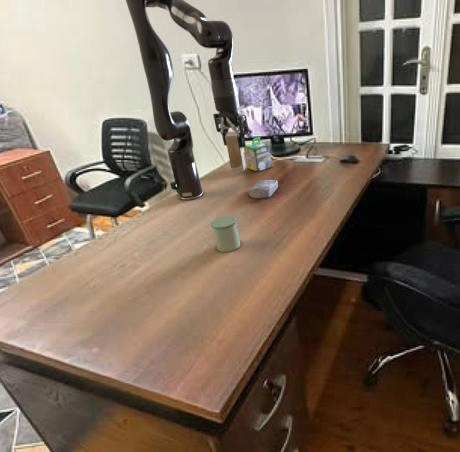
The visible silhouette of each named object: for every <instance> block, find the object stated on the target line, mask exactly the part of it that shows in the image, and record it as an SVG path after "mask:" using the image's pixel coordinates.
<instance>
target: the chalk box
mask: <svg viewBox="0 0 460 452" xmlns="http://www.w3.org/2000/svg"><path fill="white" fill-rule="evenodd" d="M243 154H244V159H245V165H246V168H247V169H248V170H251V171H254V172H258V173H259V172H261V171H264V170H267V169H270V168H273V163H272V162H273V161H272V155H271V148H270V143H268V142H262V141H261V136H259V137H255V138H252V142H251V143H248V144H246V145H245V147H244V148H243Z"/></svg>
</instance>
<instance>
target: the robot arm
mask: <svg viewBox="0 0 460 452" xmlns="http://www.w3.org/2000/svg"><path fill="white" fill-rule="evenodd" d="M125 3H126V6H127V9H128V12H129V16H130V19H131V21H132V25H133V28H134V32H135V35H136V39H137V44H138V47H139V52H140V57H141V62H142V67H143V70H144V74H145V78H146V82H147V87H148V91H149V96H150V97H149V98H150V102H151V109H152V117H153V123H154V128H155V130H156V133H157V135H158V136H159V137H160V139H162V140H163V141H166V142H168V141H172V140H173V141H172V143H171V145H170V146H169V147H168V148H167V153H166V154H167V156H168V159H169V163H170V167H171V171H172V174H173V175H172V176H173V179H174V181H172V182H169V185H170V188H171V190H173V191H176V193H177V195H178V197H179V199H180V200H183V201H190V200H191V201H192V200H196V199H198V198H201V197H202V196H203V195H204V191H203V188H202V183H201V179H200V176H199V170H198V167H197V163H196V159H195V153H194V150H193V149H194V140H193V135H192V130H191V125H190V122H189V120H188V117H187V116H186V114H185V113H184V112H181V111H178V110H174V111H171V110H170V101H169V100H170V93H171V89H172V86H173V82H174V67H173V62H172V58H171V54H170V53H171V52H170V51H169V49H168V47H167V46H166V44H165V43H164V41H163V40H162V39H161V37H160V36H159V35H158V34H157V32H156V31H155V29H154V28H153V26H152V24H151V22H150V19H149V15H148V12H147V8H152V9H153V8H159V9H163V10H164V11H166V12H168V14H169V17H170V18H171V20H172V21H173V23H174V24H176V25H177V26H178V27H180V28H181V29H182V30H184V31H185V32H187V33H188V34H190V36H191V37H192V38H193V39H194V41H195V42H196V43H197V44H198V46H200V47H203V48H204V49H210V50H211V49H212V50H213V49H215V56H214V57H211V58H209V59H208V61H207V67H208V73H209V79H210V84H211V92H212V97H213V103H214V107H215V111H217V112H216V113H214V114H213V115H212V116H213V120H214V124H215V130H216V132H217V133H220V135H221V136H222V141H223V145H224V146H226V147H227V144H226V139H225V136H226V134H227V132H230V131H229V130H230V129H231V130H232V132H235V133H236V134H237V136H238V137H237V139H238V144H239V148H243V149H244V147H245V145H247V143H246V138H245V136H246V135H248V134H249V126H248V120H247V115H246V114H241V115H240V113H239V110H240V108H241V106H240V99H239V94H238V89H237V88H238V87H237V83H236V81H235V76H234V69H233V65H232V61H233V49H234V48H233V47H234V36H233V32H232V29H231V27H230V25H229V24H228V23H227V22H225V21H224V20H208V19H207V16H206V15H205V13H204V12H202V11H201V10H200V9H199V8H197V7H195V6H193V5H192V4H190V3H188V2H187V1H185V0H125ZM239 131H240V133H239Z"/></svg>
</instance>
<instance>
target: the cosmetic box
mask: <svg viewBox="0 0 460 452" xmlns="http://www.w3.org/2000/svg"><path fill="white" fill-rule="evenodd" d="M238 131H239V133H240V130H238ZM237 137H238V136H237V134H236V133H235V131H228V132H227V134H226V136H225V139H226V144H227V146H226V149H227V154H228V159H229V165H230V169H231V173H235V172H236V173H237V172H244V171H245V169H246V158H245V153H244V148H239V144H238V139H237Z"/></svg>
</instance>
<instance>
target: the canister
mask: <svg viewBox="0 0 460 452" xmlns="http://www.w3.org/2000/svg"><path fill="white" fill-rule="evenodd" d="M237 222H238V220H237V218H236V217H235V216H233V215H222V216H218V217H216V218H214V219H212V220H211V222H210V227H211V228H212V232H213V237H214V241H215V246H216V249H217V251H219V252H222V253H229V252H232V251H235V250H237V249H238V248H240V246H241V238H240V233H239V230H238V223H237Z"/></svg>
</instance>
